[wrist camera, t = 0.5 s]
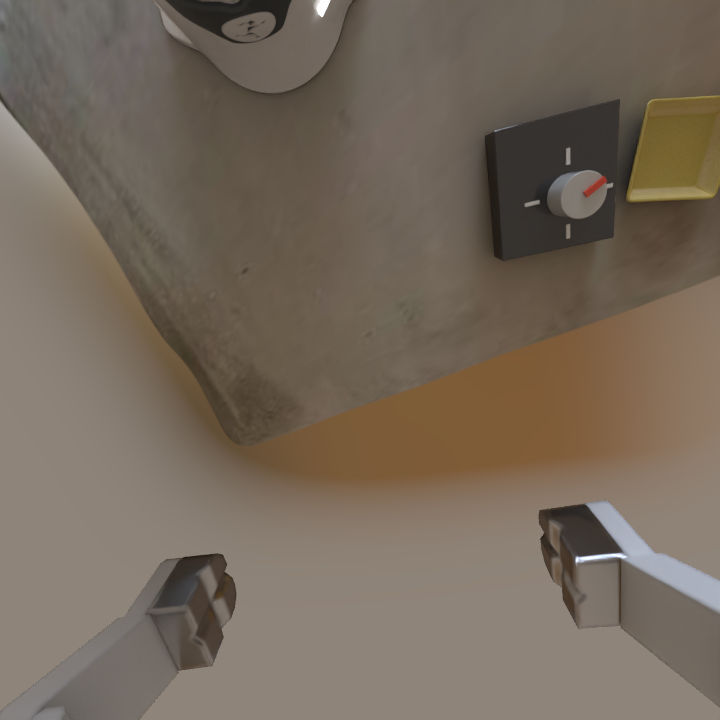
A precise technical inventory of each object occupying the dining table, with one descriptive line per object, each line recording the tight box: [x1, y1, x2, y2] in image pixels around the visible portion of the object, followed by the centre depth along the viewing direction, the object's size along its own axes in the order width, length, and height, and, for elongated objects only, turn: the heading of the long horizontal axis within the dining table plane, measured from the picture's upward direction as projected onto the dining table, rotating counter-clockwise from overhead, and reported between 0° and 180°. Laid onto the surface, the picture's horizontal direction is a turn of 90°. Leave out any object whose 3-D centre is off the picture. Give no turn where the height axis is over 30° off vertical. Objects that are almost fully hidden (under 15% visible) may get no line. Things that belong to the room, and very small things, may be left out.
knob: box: [547, 170, 607, 219], centre depth 35 cm, size 4×4×3 cm
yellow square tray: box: [626, 96, 720, 202], centre depth 36 cm, size 9×9×2 cm
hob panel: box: [485, 99, 620, 261], centre depth 37 cm, size 12×11×3 cm
